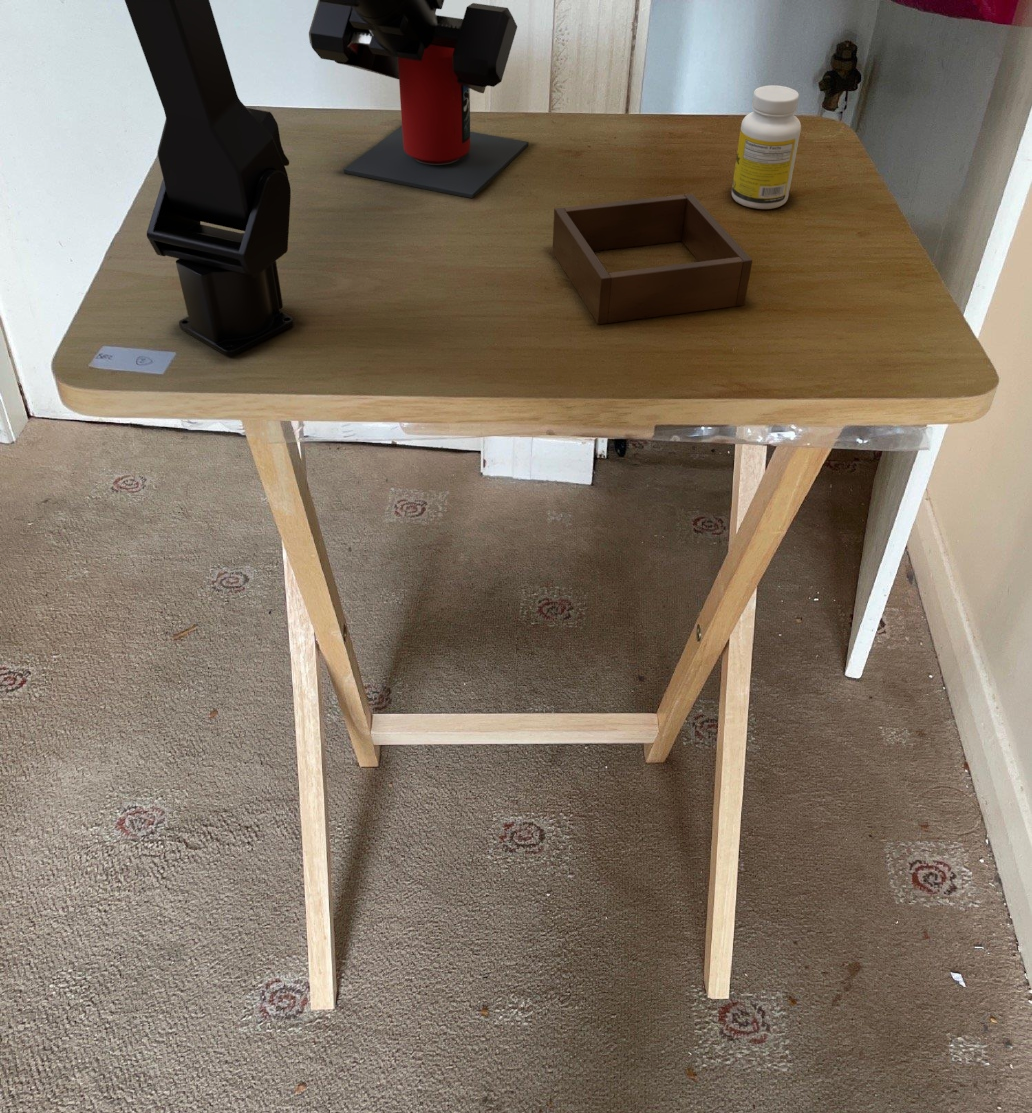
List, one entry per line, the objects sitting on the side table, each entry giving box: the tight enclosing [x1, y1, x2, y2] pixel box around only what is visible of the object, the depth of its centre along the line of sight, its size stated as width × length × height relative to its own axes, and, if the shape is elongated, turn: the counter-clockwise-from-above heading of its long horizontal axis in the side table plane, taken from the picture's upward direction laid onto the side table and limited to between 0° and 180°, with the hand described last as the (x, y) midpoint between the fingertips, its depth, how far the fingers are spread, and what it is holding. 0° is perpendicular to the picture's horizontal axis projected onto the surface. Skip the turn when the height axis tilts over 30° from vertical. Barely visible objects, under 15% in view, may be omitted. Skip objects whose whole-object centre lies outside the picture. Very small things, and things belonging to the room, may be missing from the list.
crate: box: [552, 193, 753, 325], centre depth 86 cm, size 13×13×4 cm
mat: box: [342, 125, 529, 199], centre depth 105 cm, size 14×14×1 cm
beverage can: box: [398, 45, 471, 165], centre depth 101 cm, size 7×7×12 cm
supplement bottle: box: [731, 84, 802, 210], centre depth 96 cm, size 5×5×10 cm
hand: (441, 81), depth 101 cm, fingers open, 9 cm apart
